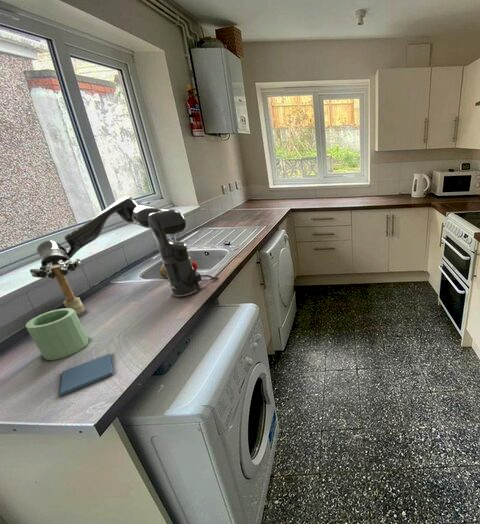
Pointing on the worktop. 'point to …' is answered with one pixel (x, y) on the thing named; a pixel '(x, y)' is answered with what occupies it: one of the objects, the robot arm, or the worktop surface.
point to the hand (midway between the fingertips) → (57, 274)
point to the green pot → (57, 333)
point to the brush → (67, 291)
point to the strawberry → (194, 265)
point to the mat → (86, 374)
